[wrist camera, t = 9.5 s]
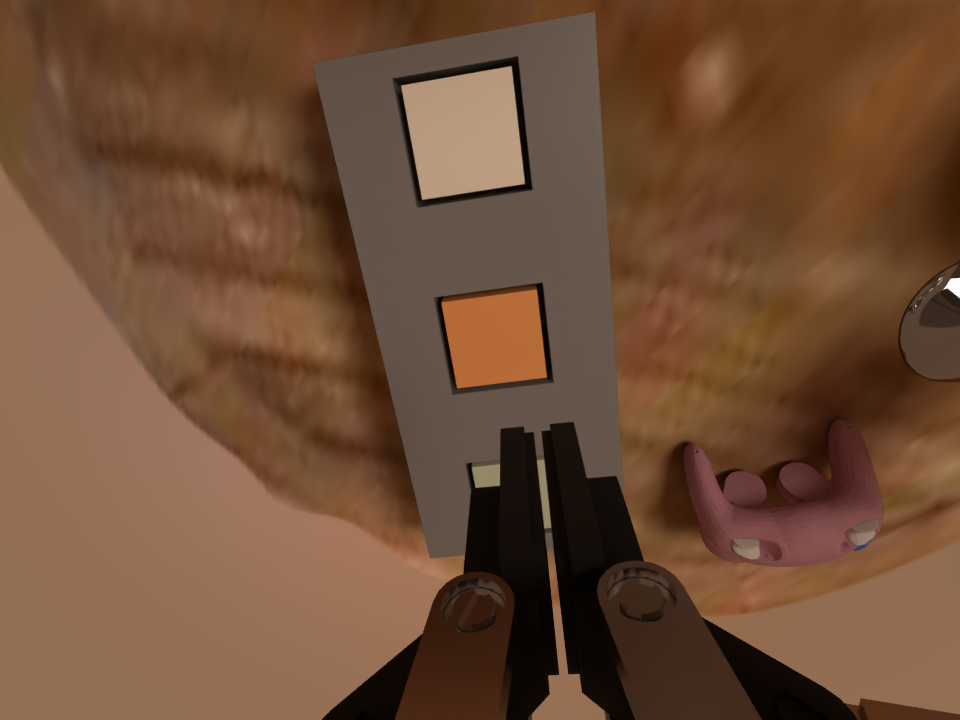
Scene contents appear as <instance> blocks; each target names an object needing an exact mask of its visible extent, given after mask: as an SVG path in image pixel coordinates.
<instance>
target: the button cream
mask: <svg viewBox="0 0 960 720" xmlns="http://www.w3.org/2000/svg"><path fill="white" fill-rule="evenodd" d="M401 87H402V93H403V98H404V104H405V109H406V114H407V120H408V125H409V131H410V136H411V142H412V147H413V152H414V158H415V163H416V169H417V174H418V179H419V185H420V190H421V196H422V200H424V199H430V198H437V197H443V196H450V195H456V194H463V193H469V192H476V191H482V190H488V189H495V188H501V187H508V186H514V185H521V184H525V181H524V172H523V163H522V154H521V145H520V137H519V128H518V119H517V110H516V102H515V93H514V84H513V75H512V66H510V67H504V68H499V69H493V70H487V71H481V72H476V73H470V74H464V75H459V76H453V77H447V78H442V79H436V80H430V81H425V82H419V83H413V84H408V85H402V86H401Z"/></svg>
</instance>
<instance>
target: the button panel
mask: <svg viewBox="0 0 960 720" xmlns="http://www.w3.org/2000/svg"><path fill="white" fill-rule="evenodd" d="M312 64H313V68H314V73H315V77H316V81H317V85H318V89H319V94H320V98H321V102H322V106H323V110H324V115H325V119H326V123H327V127H328V131H329V136H330V140H331V144H332V148H333V152H334V157H335V161H336V165H337V169H338V173H339V178H340V182H341V186H342V190H343V195H344V199H345V203H346V207H347V211H348V216H349V220H350V224H351V228H352V232H353V237H354V241H355V245H356V249H357V253H358V258H359V262H360V266H361V270H362V274H363V279H364V283H365V287H366V291H367V295H368V300H369V304H370V308H371V312H372V317H373V321H374V325H375V329H376V333H377V338H378V342H379V346H380V350H381V354H382V359H383V363H384V367H385V371H386V375H387V380H388V384H389V388H390V392H391V396H392V401H393V405H394V409H395V413H396V417H397V422H398V426H399V430H400V434H401V438H402V443H403V447H404V451H405V455H406V460H407V464H408V468H409V472H410V476H411V481H412V485H413V489H414V493H415V497H416V502H417V506H418V510H419V514H420V518H421V523H422V527H423V531H424V535H425V539H426V544H427V548H428V552H429V556H430V558H439V557H450V556H460V555H465V550H466V539H467V528H468V517H469V506H470V495H471V489H472V488H476V487H475V482H474V477H473V471H472V463H474V462H484V461H493V460H500V430H501V429H502V428H513V427H523V426H524V431H525V433H526V432H534V438H535V447H536V456H539V455H544V452H543V443H542V433H541V431H547V430H550V424H555V423H565V422H574V425H575V429H576V433H577V438H578V442H579V446H580V451H581V455H582V459H583V463H584V468H585V472H586V476H587V478H596V477H608V476H616V477H617V479H618V481H619V484H620V487H621V491H622V494H623V497H624V492H623V475H622V458H621V442H620V425H619V408H618V391H617V375H616V358H615V341H614V324H613V308H612V291H611V274H610V258H609V241H608V224H607V207H606V191H605V174H604V157H603V140H602V124H601V107H600V90H599V73H598V57H597V40H596V23H595V12H590V13H585V14H579V15H574V16H568V17H563V18H558V19H552V20H547V21H541V22H536V23H530V24H525V25H519V26H514V27H508V28H503V29H497V30H492V31H486V32H481V33H475V34H470V35H464V36H459V37H453V38H448V39H442V40H437V41H432V42H426V43H421V44H415V45H410V46H404V47H399V48H393V49H388V50H382V51H377V52H371V53H366V54H360V55H355V56H349V57H344V58H338V59H333V60H327V61H322V62H317V63H312ZM510 66H512V75H513V84H514V93H515V102H516V110H517V119H518V128H519V137H520V145H521V154H522V163H523V172H524V181H525V184H521V185H514V186H508V187H501V188H495V189H488V190H482V191H476V192H469V193H463V194H456V195H450V196H443V197H437V198H430V199H424V200H422V196H421V190H420V185H419V179H418V174H417V169H416V163H415V158H414V152H413V147H412V142H411V136H410V131H409V125H408V120H407V114H406V109H405V104H404V98H403V93H402V87H401V86H402V85H408V84H413V83H419V82H425V81H430V80H436V79H442V78H447V77H453V76H459V75H464V74H470V73H476V72H481V71H487V70H493V69H499V68H504V67H510ZM528 284H536V288H537V295H538V304H539V313H540V321H541V330H542V339H543V348H544V356H545V365H546V374H547V378H539V379H531V380H522V381H514V382H506V383H498V384H489V385H481V386H473V387H465V388H457V385H456V379H455V374H454V368H453V363H452V358H451V352H450V347H449V341H448V336H447V330H446V325H445V320H444V314H443V309H442V303H441V302H442V300H443V297H444V296H448V295H455V294H463V293H470V292H477V291H484V290H492V289H499V288H506V287H513V286H521V285H528ZM544 529H545V539H546V548H547V547H553V538H552V529H551V528H544Z"/></svg>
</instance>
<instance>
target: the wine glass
mask: <svg viewBox="0 0 960 720" xmlns="http://www.w3.org/2000/svg"><path fill="white" fill-rule="evenodd" d="M899 343H900V349H901V352H902V355H903V358H904V359H905V361H906V363H907V364H908V366H909V367H911V368H912V369H913V370H914V371H915V372H916V373H918V374H919V375H921V376H923V377H925V378H928V379H931V380H934V381H941V382H960V262H959V263H957V264H955V265H953V266H951V267H949V268H947V269H945V270H944V271H942V272H941V273H939V274H938V275H936V276H935V277H934V278H933V279H931V280H930V281H929V282H928V283H927V284H926V285H925V286H924V287H923V288H922V289H921V290H920V291H919V292H918V293H917V294H916V296H915V297H914V299H913V300H912V302H911V303H910V305H909V306H908V308H907V310H906V312H905V314H904V316H903V320H902V323H901V327H900V334H899Z"/></svg>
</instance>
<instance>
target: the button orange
mask: <svg viewBox="0 0 960 720" xmlns="http://www.w3.org/2000/svg"><path fill="white" fill-rule="evenodd" d="M441 303H442V309H443V314H444V320H445V325H446V330H447V336H448V341H449V347H450V352H451V358H452V363H453V368H454V374H455V379H456V385H457V388H465V387H473V386H481V385H489V384H498V383H506V382H514V381H522V380H531V379H539V378H547V374H546V365H545V356H544V348H543V339H542V330H541V321H540V313H539V304H538V295H537V288H536V284H528V285H521V286H513V287H506V288H499V289H492V290H484V291H477V292H470V293H463V294H455V295H448V296H444V297H443V300H442V302H441Z"/></svg>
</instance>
